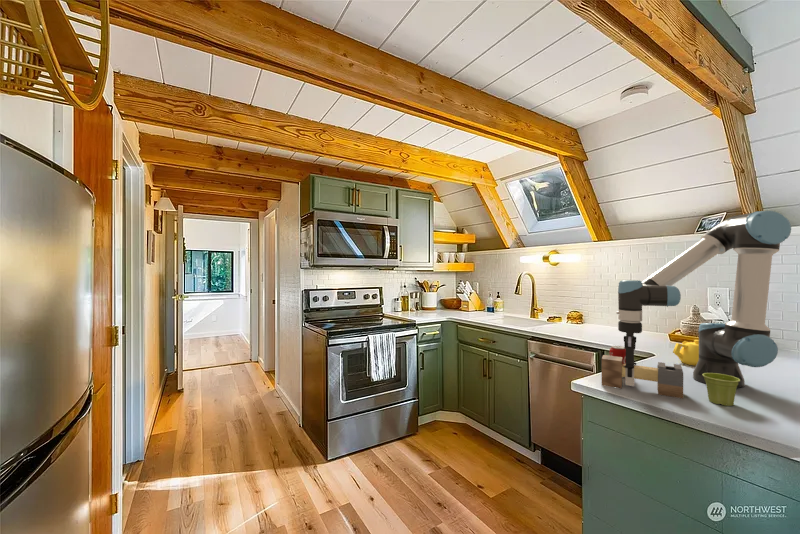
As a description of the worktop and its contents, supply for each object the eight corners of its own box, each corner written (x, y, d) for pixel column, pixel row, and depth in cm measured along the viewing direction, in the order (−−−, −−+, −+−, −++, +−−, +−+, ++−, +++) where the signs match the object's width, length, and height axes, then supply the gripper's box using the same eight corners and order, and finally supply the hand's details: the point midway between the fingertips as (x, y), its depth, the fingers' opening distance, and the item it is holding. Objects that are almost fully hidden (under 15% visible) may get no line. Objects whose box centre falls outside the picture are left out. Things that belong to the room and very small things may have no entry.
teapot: (706, 358, 176) (706, 336, 176) (733, 369, 158) (733, 344, 158) (660, 356, 179) (660, 334, 179) (682, 367, 161) (683, 342, 161)
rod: (661, 379, 131) (661, 368, 131) (661, 382, 127) (661, 371, 127) (610, 372, 140) (610, 361, 140) (609, 374, 136) (609, 364, 136)
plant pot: (694, 398, 123) (694, 372, 123) (720, 397, 124) (720, 372, 124) (721, 408, 114) (721, 381, 114) (748, 407, 115) (748, 380, 115)
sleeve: (681, 392, 129) (681, 364, 128) (683, 398, 123) (683, 369, 123) (657, 388, 132) (657, 361, 132) (658, 394, 127) (658, 366, 127)
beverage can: (630, 378, 144) (630, 349, 144) (612, 377, 146) (612, 348, 146) (623, 374, 151) (623, 345, 151) (607, 373, 152) (607, 345, 152)
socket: (622, 383, 139) (622, 357, 139) (621, 388, 133) (621, 361, 133) (603, 380, 142) (603, 354, 142) (601, 385, 136) (601, 358, 136)
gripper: (619, 317, 143) (619, 376, 143) (617, 323, 129) (616, 388, 129) (642, 319, 139) (642, 379, 139) (642, 325, 125) (642, 392, 125)
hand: (629, 383), depth 134 cm, fingers closed on rod, 4 cm apart
